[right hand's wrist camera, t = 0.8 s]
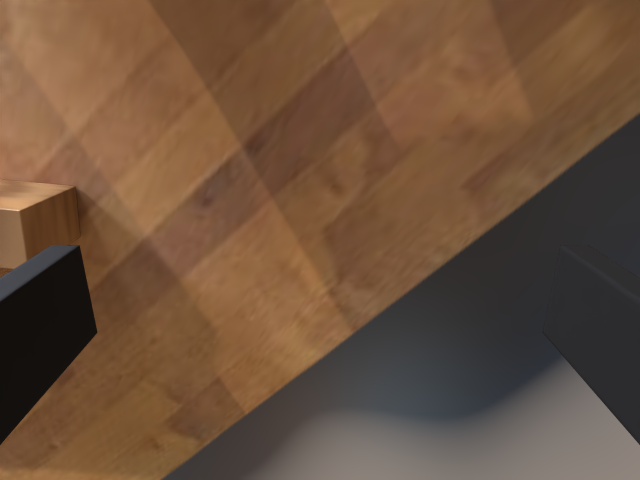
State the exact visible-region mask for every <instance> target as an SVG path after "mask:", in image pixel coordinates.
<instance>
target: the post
mask: <svg viewBox="0 0 640 480" xmlns="http://www.w3.org/2000/svg"><path fill="white" fill-rule="evenodd" d="M79 237H80V227H79V217H78V207H77V197H76V187H75V186H67V185H56V184H45V183H34V182H23V181H12V180H1V179H0V268H6V269H15V268H17V267H18V266H20V265H21V264H23V263H24V262H26V261H28V260H29V259H31V258H32V257H34V256H35V255H37V254H39V253H40V252H42V251H43V250H45V249H46V248H48V247H50V246H51V245H68V244H70V243H71V242H73V241H74V240H76V239H77V238H79Z"/></svg>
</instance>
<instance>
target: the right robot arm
mask: <svg viewBox="0 0 640 480" xmlns="http://www.w3.org/2000/svg"><path fill="white" fill-rule="evenodd" d="M96 334H97V328H96V323H95V318H94V314H93V309H92V304H91V299H90V294H89V289H88V284H87V279H86V274H85V269H84V265H83V260H82V255H81V250H80V245H51V246H50V247H48V248H46V249H45V250H43V251H42V252H40V253H39V254H37V255H35V256H34V257H32V258H31V259H29V260H28V261H26V262H24V263H23V264H21V265H20V266H18V267H17V268H15V269H13V270H12V271H10V272H9V273H7V274H5V275H4V276H2V277H1V278H0V445H1V443H2V442H3V441H4V440H5V439H6V438H7V436H8V435H9V434H10V433H11V432H12V431H13V430H14V428H15V427H16V426H17V425H18V424H19V423H20V421H21V420H22V419H23V418H24V417H25V416H26V414H27V413H28V412H29V411H30V410H31V409H32V408H33V406H34V405H35V404H36V403H37V402H38V401H39V399H40V398H41V397H42V396H43V395H44V394H45V393H46V391H47V390H48V389H49V388H50V387H51V386H52V384H53V383H54V382H55V381H56V380H57V379H58V377H59V376H60V375H61V374H62V373H63V372H64V371H65V369H66V368H67V367H68V366H69V365H70V364H71V362H72V361H73V360H74V359H75V358H76V357H77V356H78V354H79V353H80V352H81V351H82V350H83V349H84V347H85V346H86V345H87V344H88V343H89V342H90V341H91V339H92V338H93V337H94V336H95V335H96ZM543 334H544V335H545V336H546V337H547V338H548V339H549V340H550V342H551V343H552V344H553V345H554V346H555V347H556V348H557V350H558V351H559V352H560V353H561V354H562V356H563V357H564V358H565V359H566V360H567V361H568V362H569V364H570V365H571V366H572V367H573V368H574V369H575V371H576V372H577V373H578V374H579V375H580V376H581V377H582V379H583V380H584V381H585V382H586V383H587V384H588V386H589V387H590V388H591V389H592V390H593V391H594V393H595V394H596V395H597V396H598V397H599V398H600V399H601V401H602V402H603V403H604V404H605V405H606V406H607V408H608V409H609V410H610V411H611V412H612V413H613V414H614V416H615V417H616V418H617V419H618V420H619V421H620V423H621V424H622V425H623V426H624V427H625V428H626V430H627V431H628V432H629V433H630V434H631V435H632V436H633V438H634V439H635V440H636V441H637V442H638V443H639V445H640V278H639V277H638V276H636V275H634V274H633V273H631V272H630V271H628V270H627V269H625V268H623V267H622V266H620V265H619V264H617V263H616V262H614V261H612V260H611V259H609V258H608V257H606V256H604V255H603V254H601V253H600V252H598V251H597V250H595V249H593V248H592V247H590V246H589V245H561V246H560V250H559V255H558V260H557V265H556V270H555V274H554V279H553V284H552V289H551V294H550V299H549V304H548V309H547V314H546V318H545V323H544V328H543Z"/></svg>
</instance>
